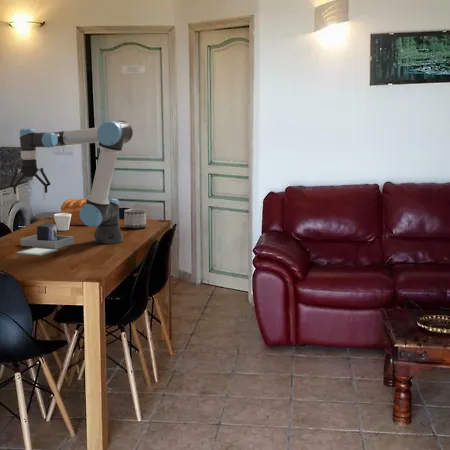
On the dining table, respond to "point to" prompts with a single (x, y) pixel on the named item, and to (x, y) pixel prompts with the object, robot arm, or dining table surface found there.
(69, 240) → the bin
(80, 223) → the bread
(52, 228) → the small box
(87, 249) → the dining table surface
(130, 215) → the planter
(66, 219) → the cup
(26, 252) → the pad
